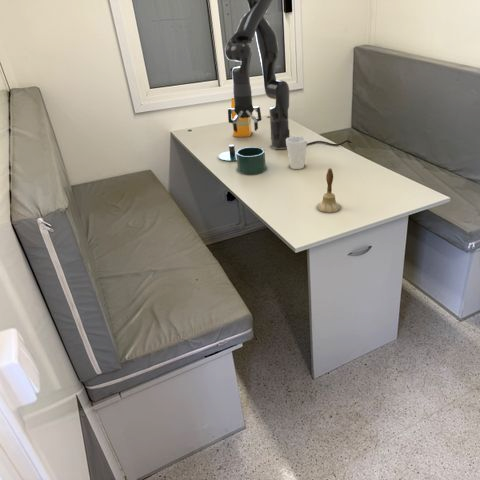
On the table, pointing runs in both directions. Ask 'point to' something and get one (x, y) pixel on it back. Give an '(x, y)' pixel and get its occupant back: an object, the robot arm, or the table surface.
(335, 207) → the hand bell
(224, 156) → the lid
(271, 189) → the table surface
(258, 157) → the tin
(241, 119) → the orange juice
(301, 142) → the foam cup
